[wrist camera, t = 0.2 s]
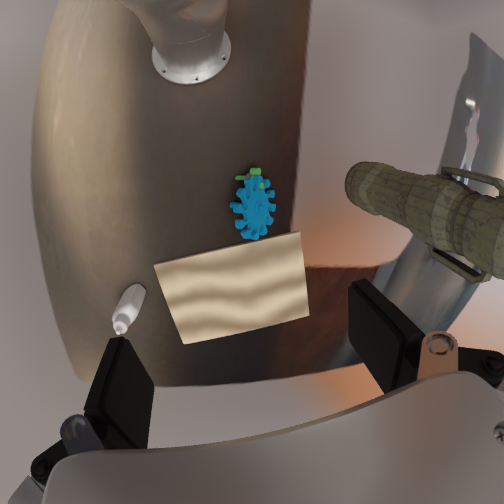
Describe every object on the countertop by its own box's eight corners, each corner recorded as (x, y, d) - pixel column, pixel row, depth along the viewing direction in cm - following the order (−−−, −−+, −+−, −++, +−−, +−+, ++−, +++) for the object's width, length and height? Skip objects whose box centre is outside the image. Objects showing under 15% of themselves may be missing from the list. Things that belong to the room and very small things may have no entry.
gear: (276, 237, 47) (239, 245, 39) (248, 232, 50) (208, 238, 42) (281, 171, 45) (244, 164, 37) (252, 170, 48) (212, 165, 40)
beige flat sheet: (154, 263, 47) (153, 265, 46) (298, 230, 49) (300, 231, 48) (184, 341, 54) (183, 344, 53) (307, 313, 56) (309, 315, 55)
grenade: (344, 218, 49) (495, 323, 17) (342, 153, 45) (525, 194, 13) (383, 213, 50) (530, 298, 18) (383, 153, 46) (553, 193, 13)
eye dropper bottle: (117, 286, 48) (97, 323, 37) (143, 281, 48) (128, 318, 37) (124, 306, 49) (108, 345, 38) (150, 301, 50) (139, 341, 39)
